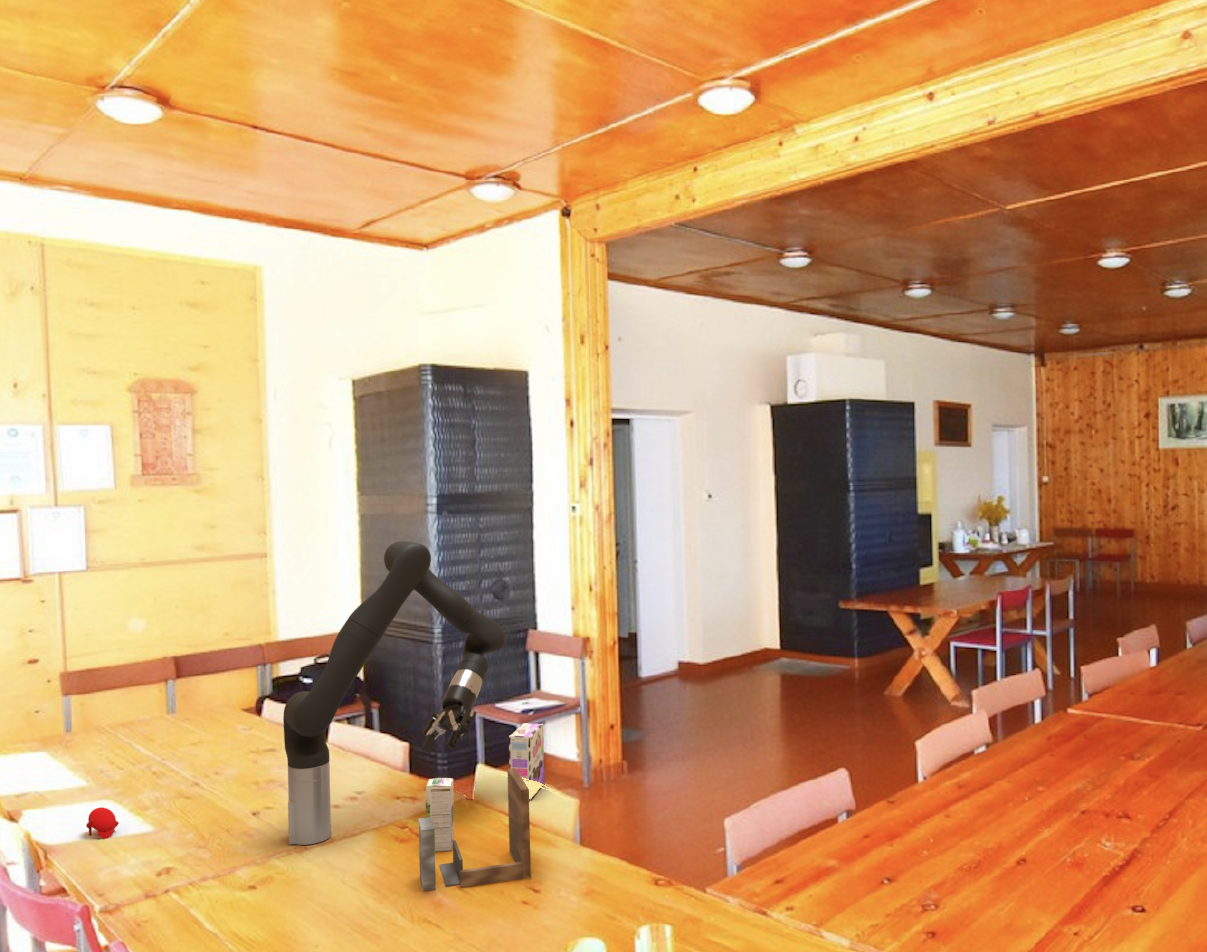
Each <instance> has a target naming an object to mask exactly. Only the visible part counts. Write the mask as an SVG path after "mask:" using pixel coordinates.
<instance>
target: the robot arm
mask: <svg viewBox="0 0 1207 952" xmlns="http://www.w3.org/2000/svg"><path fill="white" fill-rule="evenodd" d="M431 561H432V556H431V553H430V550H429V549H428V548H427V546H426V545H424V544H422V543H419V542H415V541H407V540H406V541H405V540H399V541H395V542H393V543H391V544H390V545H389V546H388V547H387V548H386V550H385V552H384V555H383V562H384V565H385V569H386V570H387V571H388V572H389V573H388V574H387V575H386V576H385V579H383V582H382V583H381V585H380V586H379V587H378V588H377V589H376V590H375V591H374V592H373V593H372V594H371V595H369V597H367V598H366V599H365V600H364V601H363V602H362V603H361V604H360V605H359V606H358V607H356V608H355V609H353V611H352V612H351V614H350V615H349V617H348V618H347V620H346V621H345V622H344V623H343V625H342V627H341V629H340V630H339V631H338V634H337V635H336V637H335V639H334V642H333V645H332V647H331V649H330V653H329V655H328V660H327V663H326V665H325V668H324V670H323V672H322V673H321V676H320V677H319V678H318V680H317V681H316V683H314V685H313V687H312V688H311V689H310V691H308V690H307V691H306V690H305V691H303V690H302V691H299V692H296V693H294V694H293V695H292V696H291V697H289V698H288V700H287V701H286V704H285V706H284V709H283V737H284V738H283V740H284V741H283V742H284V750H285V754H286V757H287V783H288V784H287V786H288V787H287V790H288V791H287V792H288V798H287V799H288V800H287V801H288V802H287V817H288V820H287V821H288V822H287V823H288V824H287V825H288V845H297V846H298V845H301V846H304V845H305V846H306V845H307V846H308V845H313V844H317V843H318V844H319V843H322V842H325V841H327V840H328V839H330V838H331V836H332V819H331V818H332V812H331V811H332V808H331V775H330V774H331V773H330V772H331V771H330V769H331V768H330V749H329V746H328V745H327V742H326V738H325V737H326V736H325V731H326V730H327V728H328V727H330V724H332V721H333V720H334V718H335V715H336V714H337V712H338V709H339V708H340V705H341V703H342V702H343V701H344V697H345V696H346V694H347V692H348V690H349V689H350V687H351V685H352V683H353V682H354V681H355V680H356V678H357V676H358V675H359V674H360V672H361V671H362V669H363V667H364V666H365V664H366V663H367V661H368V660H369V658H370V657H371V656H372V654H373V652H374V651H375V649H376V648H377V646H378V645H379V643H380V642H381V639H382V638H383V637H384V635H385V633H386V632H387V629H388V628H389V627H390V625H391V624H392V622H393V620H394V619H395V618H396V615H397V614H398V612H399V611H400V609H401V607H402V606H403V605H404V603H405V601H407V598H409V597H410V595H411V593H412V592H413V591H415V592H417V594H419V595H420V596H421V597H422V598H423V599H425V601H427V602H428V603H429V604H430V605H431V606H432V607H433V609H435V610H436V611H437V612H438V613H439V614H440V615H441V616H442V617H443V618H444V619H445V620H446V621H447V622H448V623H449V624H450V625H451V626H452V627H453V628H454V629H455V630H456V631H458V632H459V633H461V634H467V636H466V638H465V639H464V646H463V651H462V652H463V653H462V660H461V662H460V664H459V666H458V668H457V671H456V672H455V674H454V676H453V678H452V679H451V681H450V682H449V683H450V684H449V686H448V687H447V690H446V693H445V695H444V697H443V699H442V701H441V702H442V703H441V704H442V711H440V713H439V714H437V713H436V712H432V713H431V714H430V717H429V719H428V720H427V722H426V725H425V727H424V728H423V730H422V732H421V733H422V734H423V735H424V736H425V737H426V738H425V740H424V742H423V744H422V751H423V752H425V753H426V754H430V753H431V752H432V749H433V747H434V745H435V743H436V739H438V737H439V736H441V735H444V734H445V733H446V732H447V731H449V730H453V731H451V734H450V736H449V738H448V740H447V743H446V747H447V748H448V749H450V750H451V751H452V750H455V749H456V747H457V745H458V743H459V740H460V738H461V737H462V736H463V735H464V734H465V733H466V734H468V733H470V730H471V729H472V726H473V723H474V720H475V718H476V716H477V712H476V711H475V710H474V706H475V704H476V701H477V699H478V697H479V693H480V691H481V688H482V685H483V682H484V679H485V677H486V675H487V673H488V669H489V666H490V665H489V661H488V659H487V658H486V657H485V655H486V654H491V653H494V652H498V651H501V650H502V649H503V648H504V647H505V645H506V640H507V638H506V633H505V632H504V630H503V628H502V626H500V625H499V624H498V623H497V622H495V620H493V619H491V618H490V617H488V616H487V615H484V614H483V613H481V612H479V611H477V610H476V608H475V607H474V606H472V604H471V603H470V602H469V601H467V599H466V598H465V597H464V596H463V595H461V594H460V593H459V592H458V591H456V590H455V589H454V588H452V587H451V586H449V585H448V584H447V583H445V581H443V580H442V579H440V578H439V577H438V576H437V575H435V574H434V573H433V572H432V571H431V570H430V566H431Z"/></svg>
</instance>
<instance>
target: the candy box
mask: <svg viewBox="0 0 1207 952" xmlns="http://www.w3.org/2000/svg"><path fill="white" fill-rule="evenodd" d="M544 744H545V743H544V724H543V723H526V722H524V723H522V724H521V725H520V726H519V727H518V728H516V730H515V731H513V733H511V734H510V735H508V763H509V764H508V765H509V767H508V769H513V768H515V769H516V771H517V772H518V774H519V775H520V777H521V778H522V777H523V778H526V779H529V780H533V781H537V782H540V783H542V784H544V785H545V782H546V781H545V749H544V747H545V745H544ZM522 780H524V779H522ZM529 780H526V781H529ZM524 783H525V782H524Z"/></svg>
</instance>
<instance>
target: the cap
mask: <svg viewBox="0 0 1207 952" xmlns="http://www.w3.org/2000/svg"><path fill="white" fill-rule="evenodd" d="M87 821H88V822H87V823H86V828H87V829H88V836H92V832H93V831H92V829H94V830H96V833H97V836H98V837H99V838H100V839H102V840H106V839H109V838H110V837H111V836H112V835H113V834H114V833H115V829H116V828H117V827H118V825H119V824H120V823H119V821H117V819H116V815H115V813H114V812H113V811H112V810H110V808H107V807H103V806H102V807H101V806H100V807H97V808H94V809H93V810H92V811H91V812H89V815H88V819H87Z"/></svg>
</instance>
